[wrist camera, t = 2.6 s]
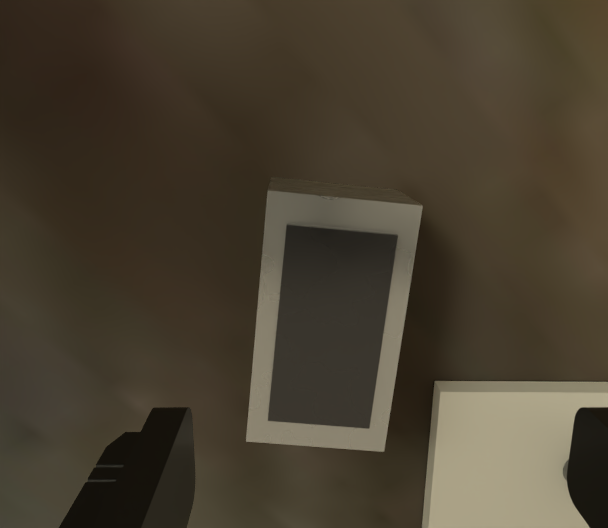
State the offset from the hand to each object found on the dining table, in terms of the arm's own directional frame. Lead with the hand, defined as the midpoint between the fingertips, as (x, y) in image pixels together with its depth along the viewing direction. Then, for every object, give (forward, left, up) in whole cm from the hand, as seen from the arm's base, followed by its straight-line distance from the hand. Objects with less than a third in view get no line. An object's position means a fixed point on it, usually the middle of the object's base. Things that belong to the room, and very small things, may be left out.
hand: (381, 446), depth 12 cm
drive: (-1, 0, -12) cm, 12 cm away
